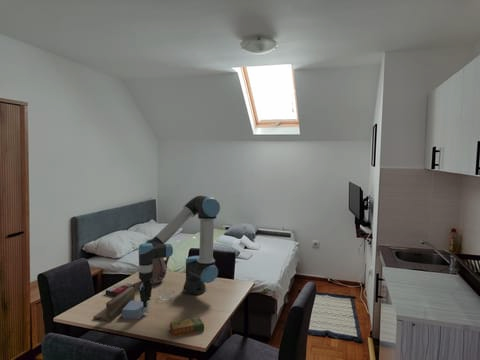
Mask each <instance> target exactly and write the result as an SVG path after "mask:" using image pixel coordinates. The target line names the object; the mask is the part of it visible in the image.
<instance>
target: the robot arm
mask: <svg viewBox="0 0 480 360" xmlns="http://www.w3.org/2000/svg"><path fill="white" fill-rule="evenodd" d="M220 210H221V206H220V202H219V200H217V199H216V198H214V197H211V196H206V195H205V196H204V195H197V196H195V197H193V198H191V199H190V200H189V201H188V202H186V203H185V205H183V207H182V209H181V210H180V211H179V213H178V214H176V215H175V216H174V217H173V218H172V219H171V220H170V221H169V222H168V223H167V224H166V225H165V226H164V227H163V228H162V229H161V230H160V231H159V232H158V233H157V234H156V235H155V236H154V237H153V238H151V239H147V240H146V241H145V242H143V243H141V244H139V245H138V271H139V272H138V279H139V280H140V286H138V288H137V289H138V290H139V291H138V292H139V298H140V301H141V302H143V312H145V313H144V314H148V313H149V312H150V300H151V299H152V298H151V297H152V290H153V289H152V288H153V284H152V283H153V280H151V278H152V277H153V271H152V270H153V260H154V259H160V258H163V259H164V258H166V259H167V257H169V258H170V257H171V256H172V255H173V253H174V249H173V245H172V243H171V244H170V243H167V242H168V241H169V240H170V239H171V238H173V236H174V235H175V234H176V233H177V232H178V231H180V230H181V228H183V226H184V225H185V224H186V223H187V222H188V221H189V220H191V218H194V217H195V216H196V215H197V219H198V220H199V224H200V225H199V227H200V228H199V255H191V256H189V257H187V258H186V259H185V281H184V285H183V288H182V292H183V293H184V294H186V295H191V296H193V295H194V296H196V295H200V294H204V293H205V292H206V289H207V287H206V284H210V283H212V282H214V281H215V280H216V279H217V277H218V275H219V269H218V267H217V266H216V259H215V258H214V255H213V254H214V228H215V221H216V219H217V216H218V215H219V213H220V212H221V211H220Z"/></svg>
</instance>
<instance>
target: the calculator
mask: <svg viewBox="0 0 480 360" xmlns="http://www.w3.org/2000/svg"><path fill="white" fill-rule="evenodd" d="M129 287H134V291H136V290H135V287H136V286H135V284H133V283H129V282H125V281H122V282H120V283H116V284H115V285H113V286H111V287H108V288H107V289H106V290H105V295H107V296H111V297H113V298H114V297H116V296H117V295H119V294H120V293H122V292H123V291H124V290H126V289H127V288H129Z"/></svg>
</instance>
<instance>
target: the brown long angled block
mask: <svg viewBox="0 0 480 360" xmlns="http://www.w3.org/2000/svg"><path fill="white" fill-rule="evenodd" d="M130 301H136V300H135V290H134V287H129V288H127V289H126V290H124V291H123V292H122V293H120V294H119V295H117V296H116V297H113V298H111V299H110V300H108V301H107V302H106V303H105V304H106V306H105V308H104V309H103V310H101V311H100V312H99V311H98V313H96V314H95V315H93V320H94V321H102V322H110V323H111V322H113V321H114V320H115V319H117V318H118V317H120V315H122V309H123V308H124V307H125V306H126V305H127V304H128V303H129V302H130Z"/></svg>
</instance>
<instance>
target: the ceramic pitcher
mask: <svg viewBox="0 0 480 360" xmlns="http://www.w3.org/2000/svg"><path fill="white" fill-rule="evenodd" d="M169 259H170V257H167V258H166V259H164V258H160V259H154V260H153V270H152V271H153V277H152V278H151V280H153V283H152V285H153V284H158V283H160V282H162V281H163V279H165V277H166V274H167V269H168V262H169Z"/></svg>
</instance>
